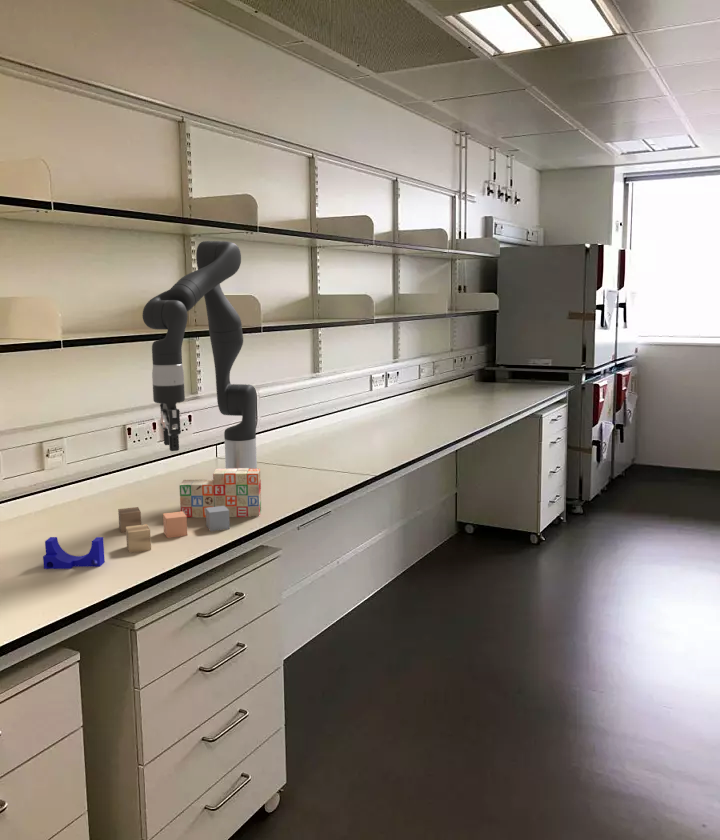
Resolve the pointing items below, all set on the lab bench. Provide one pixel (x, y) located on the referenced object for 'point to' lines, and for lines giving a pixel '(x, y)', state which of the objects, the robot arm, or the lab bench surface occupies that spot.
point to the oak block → (138, 538)
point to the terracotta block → (175, 524)
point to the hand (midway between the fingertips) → (171, 447)
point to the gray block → (217, 518)
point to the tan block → (129, 518)
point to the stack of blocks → (223, 493)
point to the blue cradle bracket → (63, 560)
